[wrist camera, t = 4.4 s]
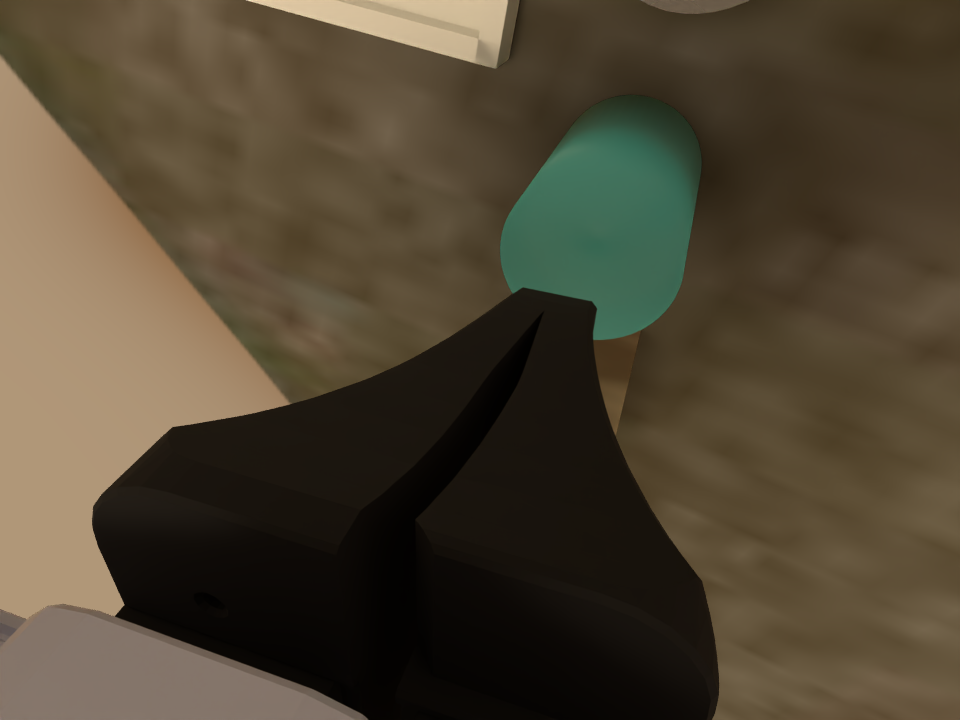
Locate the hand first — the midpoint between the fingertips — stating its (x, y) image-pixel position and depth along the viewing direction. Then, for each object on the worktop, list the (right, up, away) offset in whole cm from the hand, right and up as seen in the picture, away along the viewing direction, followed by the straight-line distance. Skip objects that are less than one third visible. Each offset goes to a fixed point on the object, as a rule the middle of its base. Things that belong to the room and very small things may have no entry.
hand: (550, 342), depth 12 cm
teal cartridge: (+3, +5, +7) cm, 10 cm away
